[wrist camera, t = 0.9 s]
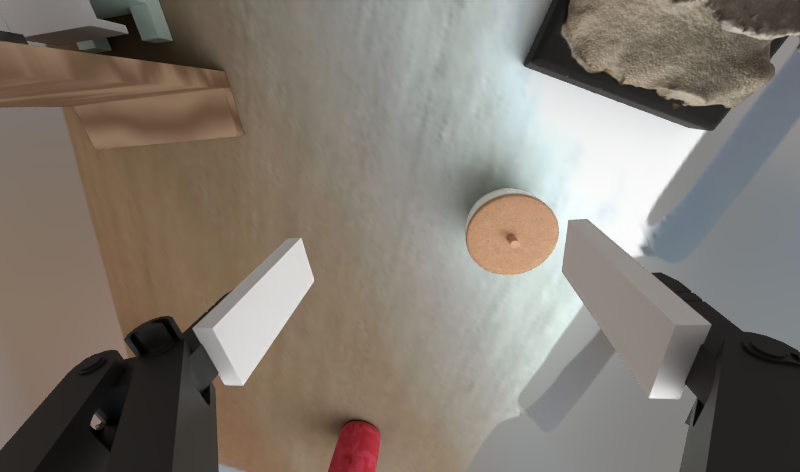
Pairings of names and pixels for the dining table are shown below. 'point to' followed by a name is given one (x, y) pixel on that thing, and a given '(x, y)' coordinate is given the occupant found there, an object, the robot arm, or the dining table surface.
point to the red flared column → (356, 448)
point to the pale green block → (83, 21)
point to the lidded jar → (510, 231)
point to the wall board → (119, 94)
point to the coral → (666, 52)
